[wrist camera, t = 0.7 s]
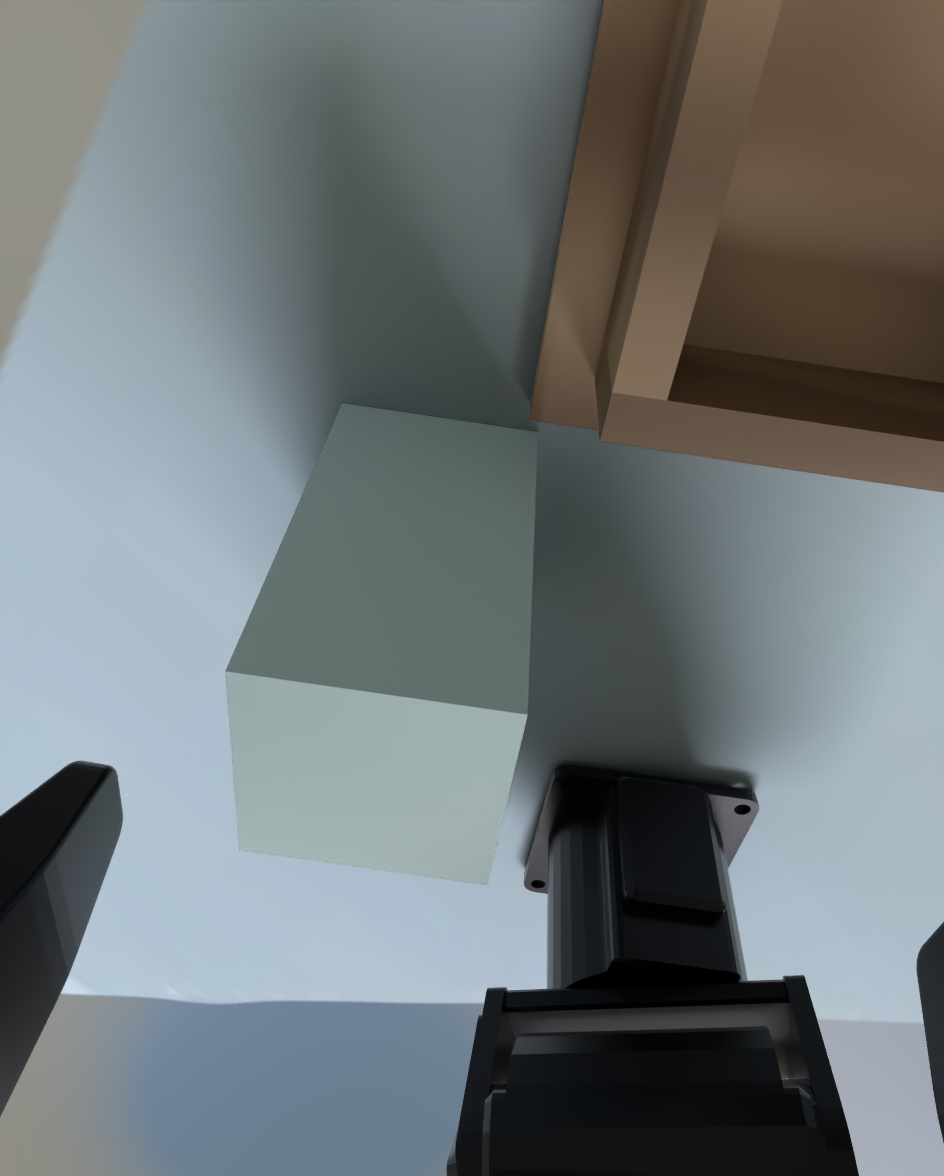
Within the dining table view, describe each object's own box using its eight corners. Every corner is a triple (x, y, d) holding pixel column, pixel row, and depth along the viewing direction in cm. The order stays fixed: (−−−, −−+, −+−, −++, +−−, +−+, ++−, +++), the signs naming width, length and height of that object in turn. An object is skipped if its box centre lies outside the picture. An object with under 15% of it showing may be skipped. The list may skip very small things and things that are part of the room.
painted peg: (508, 584, 23) (487, 885, 16) (337, 560, 23) (239, 850, 16) (538, 431, 20) (527, 715, 13) (342, 402, 20) (226, 671, 13)
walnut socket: (1004, 473, 20) (1077, 567, 17) (530, 403, 20) (525, 486, 17) (1374, -153, 13) (1601, -170, 10) (652, -270, 13) (679, -321, 10)
